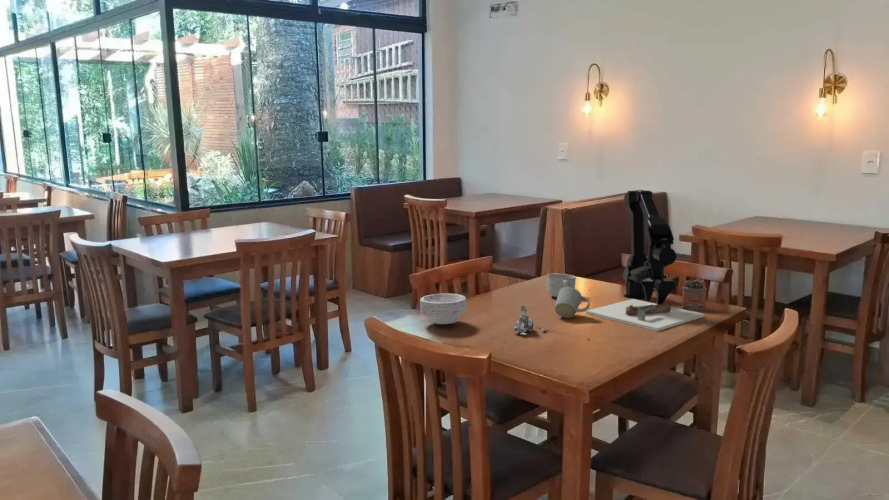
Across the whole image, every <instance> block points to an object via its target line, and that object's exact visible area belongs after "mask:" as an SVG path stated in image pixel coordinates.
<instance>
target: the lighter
mask: <svg viewBox="0 0 889 500" xmlns="http://www.w3.org/2000/svg"><path fill="white" fill-rule="evenodd" d="M684 285H686V286H682V299H681V300H682V302H681V309H683V310H688V311H705V310H706V309H707V306H706V304H707V303H706V301H707V290H708V288H707V287H706V286H704V281H702V280H701V281H700V280H699V281H698V280H696V279H695V280H693V281H692V280H685V281H684ZM704 309H705V310H704Z"/></svg>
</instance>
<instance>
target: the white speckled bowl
mask: <svg viewBox="0 0 889 500" xmlns="http://www.w3.org/2000/svg"><path fill="white" fill-rule="evenodd" d="M419 300H420V301H419V302H420V303H419V304H420V309H419V310H420V314H421V315H423V316H425V317H426V319H427V321H428V322H429V323H431V324H436V325H449V324H454V323H457V322H458V321H460V318H462V317H461V316H462V315H465V314H466V313H467V297H466V296H465V295H463V294H458V293H433V294H429V295H424V296H422V297H420V299H419Z"/></svg>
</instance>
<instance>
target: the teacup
mask: <svg viewBox="0 0 889 500" xmlns="http://www.w3.org/2000/svg"><path fill="white" fill-rule="evenodd" d="M576 279H577V277H576V276H575V275H572V274H566V273H549V274H547V275H546V290H547V292H548V293H549V294H550V296H552V297H555V298H557V297H558V294H559V291H560V289H562V288H564V287H571V288H574V289H576Z"/></svg>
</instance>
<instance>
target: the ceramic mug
mask: <svg viewBox="0 0 889 500" xmlns="http://www.w3.org/2000/svg"><path fill="white" fill-rule="evenodd" d="M581 301H585V302H587V305H586V306H585V307H583V308H580V307H579V306H580V304H581ZM590 306H591V303H590V300H589V299H588V298H587V297H586V296H582V294H581V292H580V291H579V290H578V289H576V288H575V289H574V288H571V287H564V288H562V289H560V291H559V294H558V297H556V301H555V304H554V310H555V313H556V315H558V316H559V317H561V318H565V319H570V318H572V317H574V316H575V315H576V313H584V312H586V311H588V310H589V309H590Z"/></svg>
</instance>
